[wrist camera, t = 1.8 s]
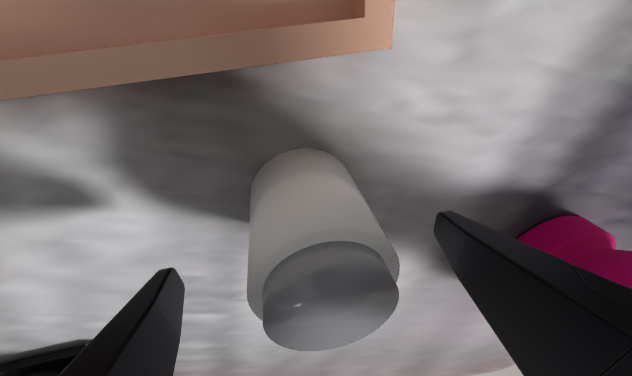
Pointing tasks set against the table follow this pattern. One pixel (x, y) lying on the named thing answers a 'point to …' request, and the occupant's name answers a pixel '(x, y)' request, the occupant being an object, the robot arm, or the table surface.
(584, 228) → the pepper mill
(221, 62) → the tray
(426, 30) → the table surface
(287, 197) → the cylinder
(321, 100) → the table surface
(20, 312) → the table surface
